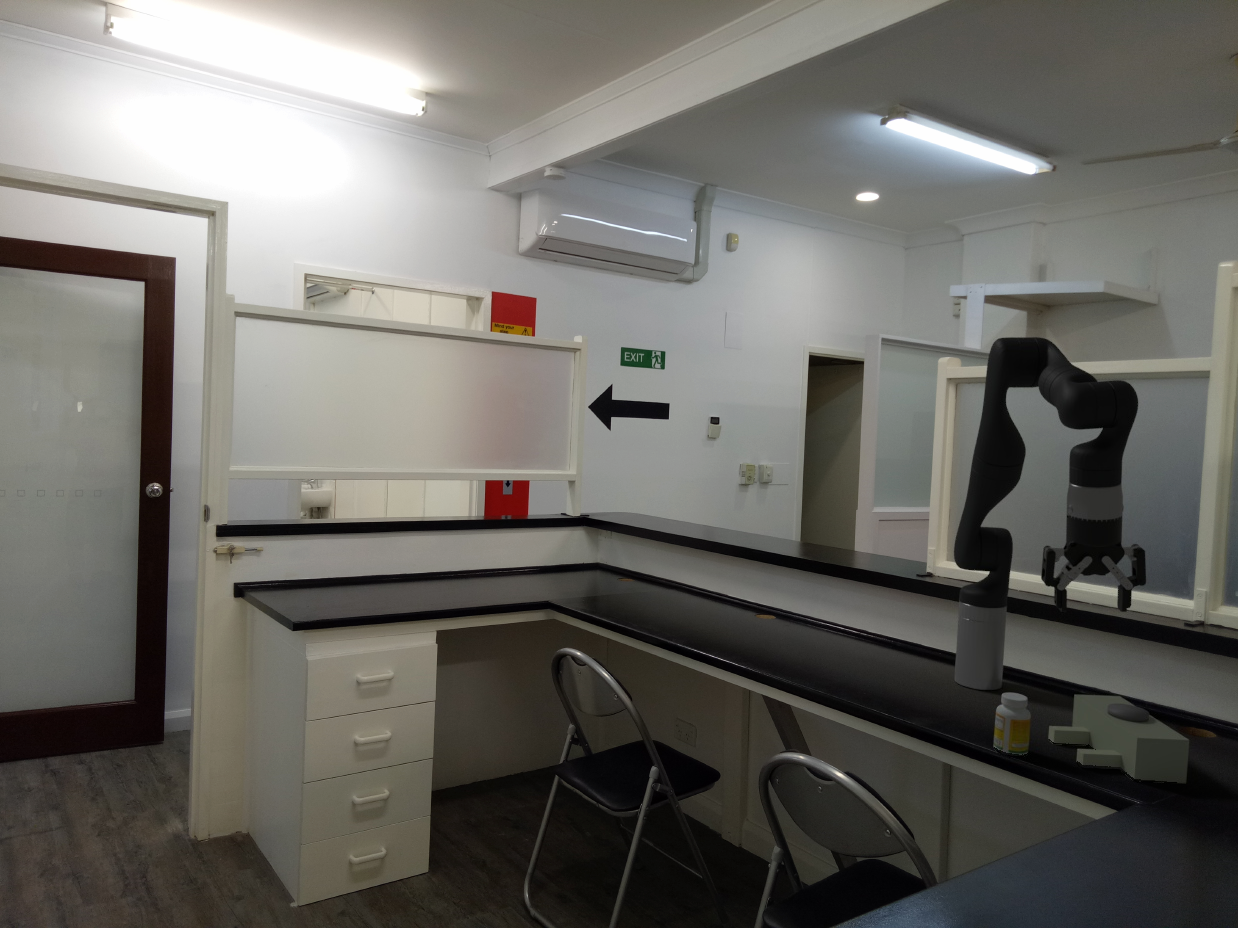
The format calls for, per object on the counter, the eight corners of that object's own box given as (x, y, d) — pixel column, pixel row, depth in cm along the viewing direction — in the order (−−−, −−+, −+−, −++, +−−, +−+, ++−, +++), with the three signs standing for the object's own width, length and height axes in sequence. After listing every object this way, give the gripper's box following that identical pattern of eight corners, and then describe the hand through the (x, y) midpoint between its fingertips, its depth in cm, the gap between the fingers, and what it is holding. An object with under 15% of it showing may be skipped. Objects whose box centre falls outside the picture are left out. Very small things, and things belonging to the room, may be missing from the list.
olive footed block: (1038, 730, 155) (1040, 687, 155) (1116, 733, 155) (1120, 690, 154) (1095, 779, 135) (1098, 729, 135) (1185, 783, 135) (1189, 733, 134)
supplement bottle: (988, 750, 145) (992, 695, 145) (1000, 742, 149) (1003, 688, 149) (1022, 760, 142) (1025, 704, 141) (1032, 751, 146) (1036, 696, 145)
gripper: (1137, 503, 134) (1133, 601, 137) (1037, 505, 137) (1036, 601, 140) (1155, 516, 127) (1151, 619, 130) (1050, 519, 130) (1048, 619, 133)
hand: (1091, 610), depth 135 cm, fingers open, 8 cm apart
